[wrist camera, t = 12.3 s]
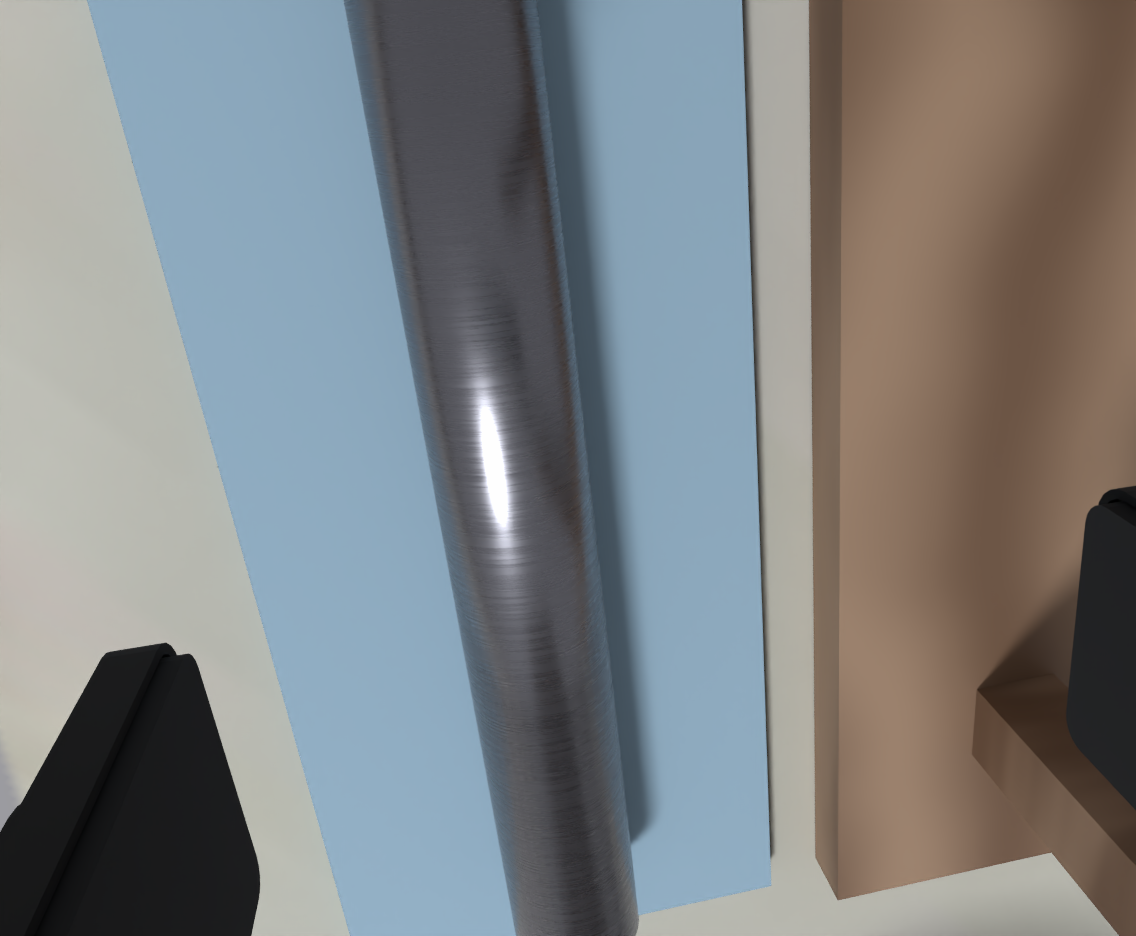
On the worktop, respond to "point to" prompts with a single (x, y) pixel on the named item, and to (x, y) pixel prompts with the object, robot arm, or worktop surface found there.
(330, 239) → the mat
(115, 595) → the worktop surface
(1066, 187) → the rack
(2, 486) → the worktop surface
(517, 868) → the rod
